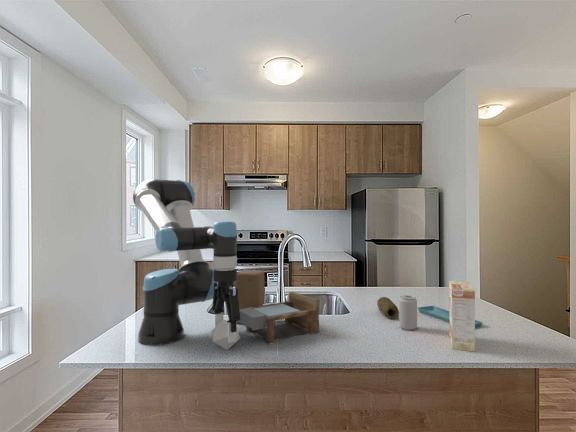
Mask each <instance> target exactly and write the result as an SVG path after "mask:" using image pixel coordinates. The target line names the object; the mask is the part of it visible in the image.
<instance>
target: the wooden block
mask: <svg viewBox="0 0 576 432" xmlns="http://www.w3.org/2000/svg"><path fill="white" fill-rule="evenodd" d="M235 288H237V289H238V302H239V310H240V309H246V308H248V307H256V306H262V305H263V304H265V272H264V270H254V269H251V270H249V269H243V270H240V271H237V280H236V281H234V289H235ZM265 305H266V304H265ZM237 325H243V324H242V323H240V322H238V321H237Z"/></svg>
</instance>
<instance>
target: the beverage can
mask: <svg viewBox="0 0 576 432" xmlns="http://www.w3.org/2000/svg"><path fill="white" fill-rule="evenodd" d="M416 298H417V297H416V296H414V295H407V294H406V295H404V294H403V295H400V297H399V299H398V301H399V303H398V304H399V305H398V312H399V313H398V318H399V319H398V321H399V322H398V324H399V328H401V330H405V331H415V330H416V329H418V301H417V299H416Z"/></svg>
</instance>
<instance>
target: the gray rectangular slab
mask: <svg viewBox="0 0 576 432" xmlns="http://www.w3.org/2000/svg"><path fill="white" fill-rule="evenodd" d="M239 311H240V320H239V321H238V322H240V323H242V324H241V325H244V326H245V327H246V326H248V327H249V328H251V329H253V330H256V329H261V328H266V327H267V319H266V316H268V317H273V316H279V315H284V314H289V313H295V312H300V310H298V309H295V308H292V307H290V306H287V305H284V304H278V305H272V306H266V307H260V308H254V309H251V308H246V309H240V310H239Z"/></svg>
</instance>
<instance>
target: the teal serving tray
mask: <svg viewBox="0 0 576 432" xmlns="http://www.w3.org/2000/svg"><path fill="white" fill-rule="evenodd" d="M417 311H419V313H420V314H423V315H426V316H429V317H431V318H434V319H437V320H439V321H443V322H446V323H448V324H449V310H447V309H444V308H440V307H438V306H435V305H426V306H419V307H418V306H417ZM482 324H484V323H483V321H480V320H478V319H475V328H477V327H481V326H482Z"/></svg>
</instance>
